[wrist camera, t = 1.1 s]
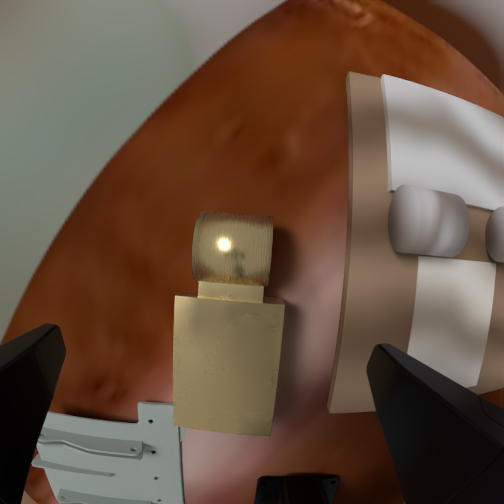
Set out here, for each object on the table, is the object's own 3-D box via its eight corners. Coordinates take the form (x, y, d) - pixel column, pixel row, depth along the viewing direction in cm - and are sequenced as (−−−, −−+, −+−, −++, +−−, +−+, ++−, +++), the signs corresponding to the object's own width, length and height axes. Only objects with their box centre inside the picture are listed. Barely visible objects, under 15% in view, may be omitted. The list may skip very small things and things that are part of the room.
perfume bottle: (268, 413, 19) (271, 444, 15) (183, 405, 19) (169, 433, 15) (286, 221, 19) (294, 213, 15) (192, 215, 19) (177, 204, 15)
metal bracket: (51, 522, 14) (3, 392, 14) (62, 487, 19) (31, 365, 19) (201, 538, 17) (199, 416, 18) (193, 500, 23) (191, 382, 23)
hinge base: (501, 383, 19) (533, 400, 14) (326, 407, 19) (344, 444, 14) (510, 131, 19) (542, 114, 14) (345, 78, 19) (364, 39, 14)
